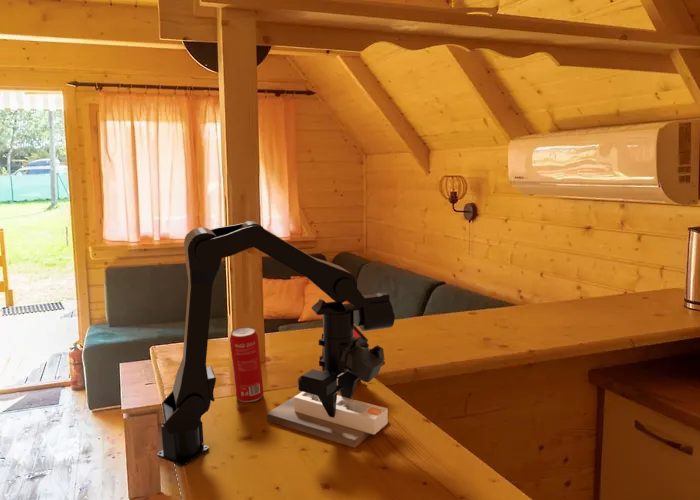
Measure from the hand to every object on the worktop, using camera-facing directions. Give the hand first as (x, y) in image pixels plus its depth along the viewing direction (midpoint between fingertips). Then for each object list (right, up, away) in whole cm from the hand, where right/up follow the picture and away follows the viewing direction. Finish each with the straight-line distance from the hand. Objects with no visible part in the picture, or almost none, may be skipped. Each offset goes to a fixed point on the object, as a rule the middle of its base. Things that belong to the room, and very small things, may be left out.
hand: (339, 411), depth 117 cm
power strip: (0, -1, 0) cm, 1 cm away
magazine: (+1, +2, +22) cm, 22 cm away
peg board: (-3, -2, +2) cm, 4 cm away
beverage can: (-20, -1, +12) cm, 23 cm away
